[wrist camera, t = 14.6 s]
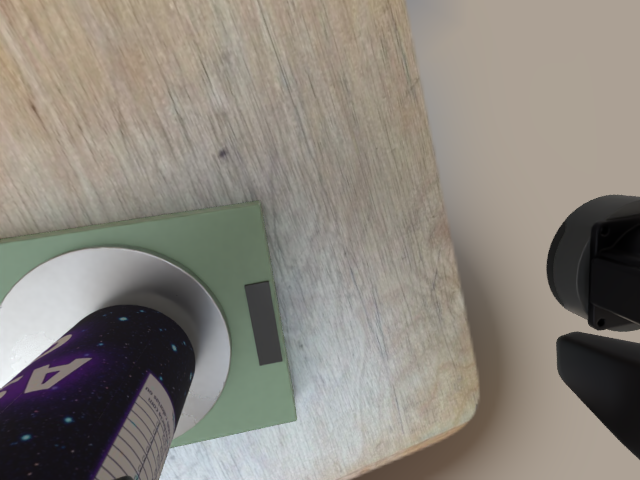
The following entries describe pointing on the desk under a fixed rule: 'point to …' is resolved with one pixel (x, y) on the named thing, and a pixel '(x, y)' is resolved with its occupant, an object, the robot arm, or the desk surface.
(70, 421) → the beverage can
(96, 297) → the scale
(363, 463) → the desk surface
